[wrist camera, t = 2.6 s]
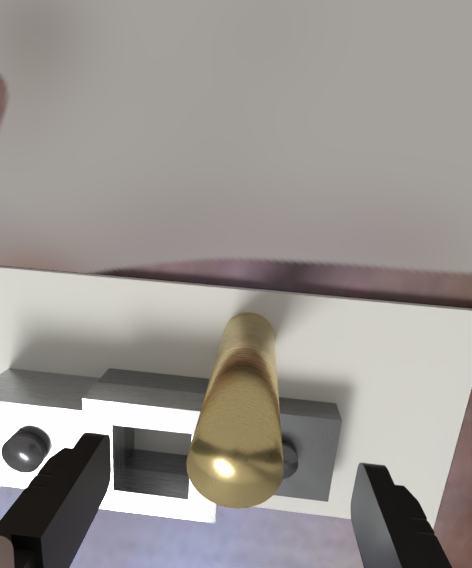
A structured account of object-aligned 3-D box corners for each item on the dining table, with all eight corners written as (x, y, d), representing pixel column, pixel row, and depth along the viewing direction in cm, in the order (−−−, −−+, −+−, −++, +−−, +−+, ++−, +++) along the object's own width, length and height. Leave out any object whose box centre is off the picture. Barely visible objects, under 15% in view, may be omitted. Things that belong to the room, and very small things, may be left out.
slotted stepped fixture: (337, 392, 23) (353, 435, 19) (321, 489, 25) (333, 547, 21) (7, 357, 24) (-45, 391, 20) (17, 452, 26) (-29, 500, 22)
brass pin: (276, 315, 22) (288, 432, 11) (271, 362, 23) (278, 514, 12) (224, 310, 22) (188, 420, 11) (221, 357, 23) (184, 502, 12)
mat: (487, 309, 21) (492, 312, 21) (429, 522, 25) (433, 529, 25) (-55, 260, 23) (-62, 262, 23) (-27, 466, 27) (-32, 471, 27)
